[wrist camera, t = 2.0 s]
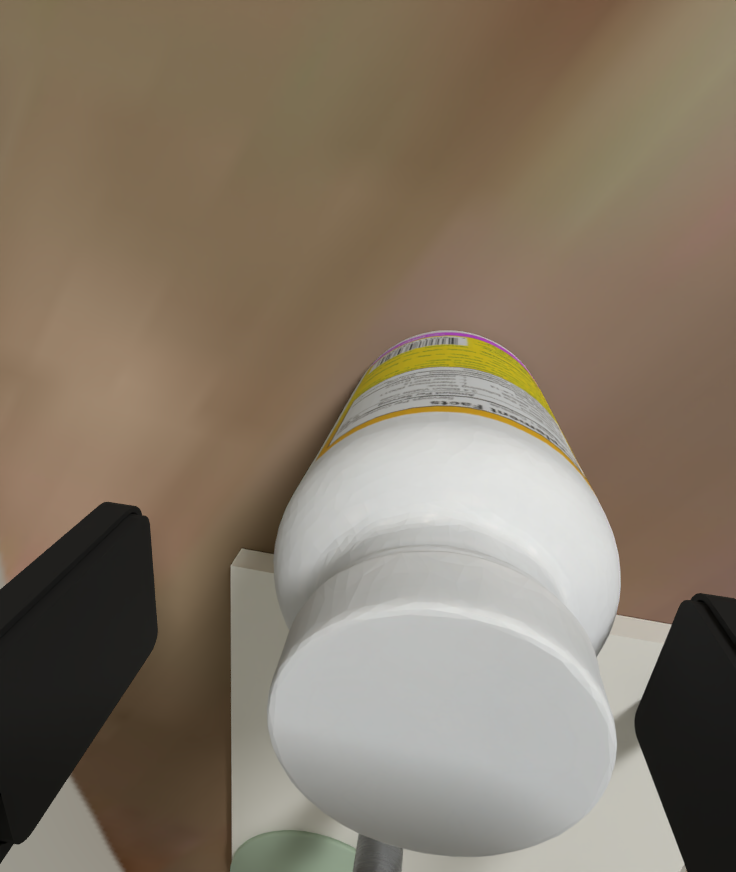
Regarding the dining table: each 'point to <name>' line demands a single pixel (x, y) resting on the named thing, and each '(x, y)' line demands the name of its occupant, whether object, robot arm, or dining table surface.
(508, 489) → the supplement bottle
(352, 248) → the dining table surface
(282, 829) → the buzz board
